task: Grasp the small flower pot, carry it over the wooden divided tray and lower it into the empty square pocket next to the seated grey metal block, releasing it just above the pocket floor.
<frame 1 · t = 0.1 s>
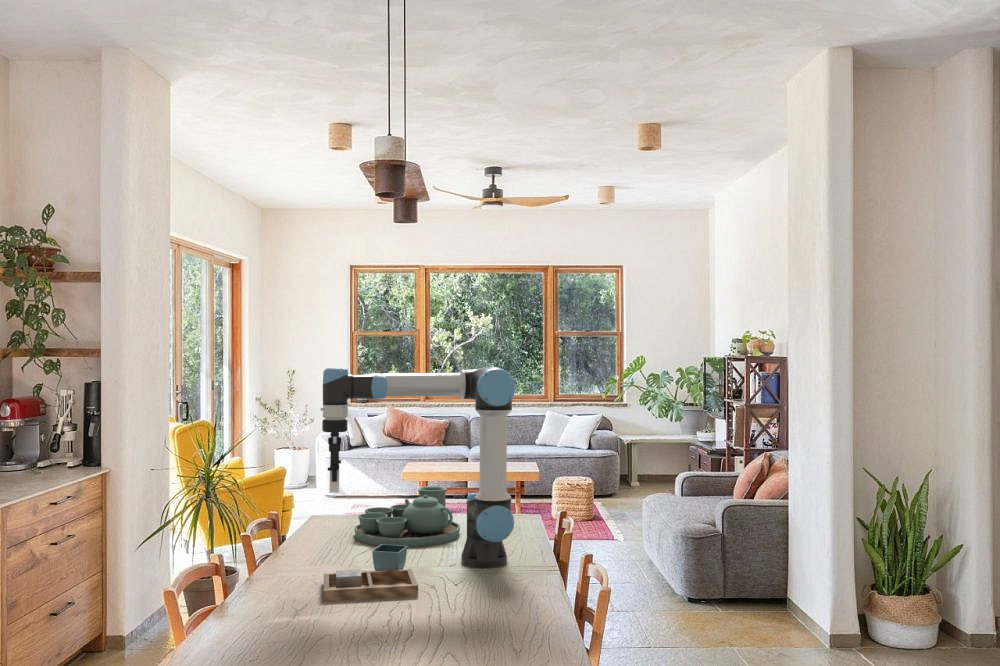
hand: (334, 488, 251), 28 cm above the table, fingers open, 13 cm apart
tea set: (407, 536, 314), on the table
wooden divided tray: (369, 593, 238), on the table
flower pot: (389, 577, 256), on the table
grey metal block: (348, 590, 237), point 1 cm above the table, touching wooden divided tray
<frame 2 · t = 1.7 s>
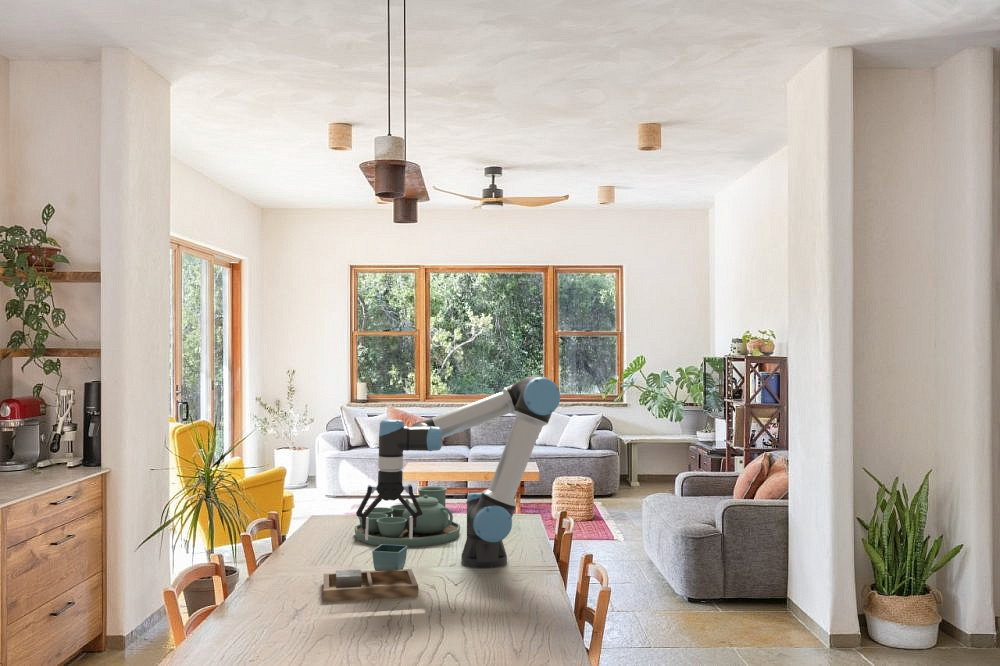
hand: (388, 538, 256), 12 cm above the table, fingers open, 13 cm apart
nothing on the table moved.
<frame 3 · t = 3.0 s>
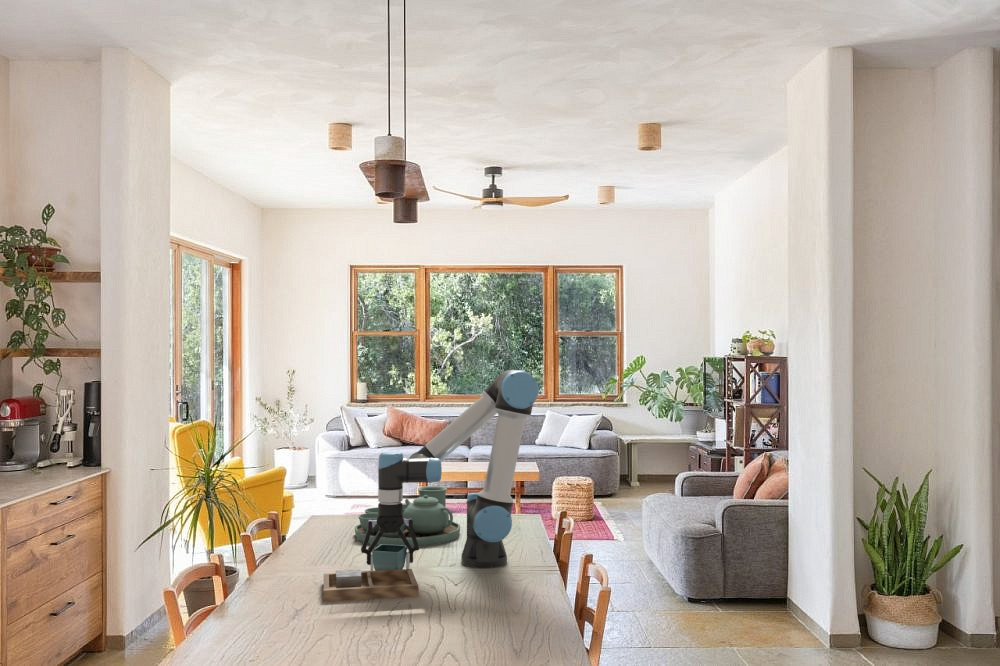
hand: (389, 574, 256), 1 cm above the table, fingers closed on flower pot, 10 cm apart
flower pot: (389, 577, 256), on the table, touching gripper
everything else where it was.
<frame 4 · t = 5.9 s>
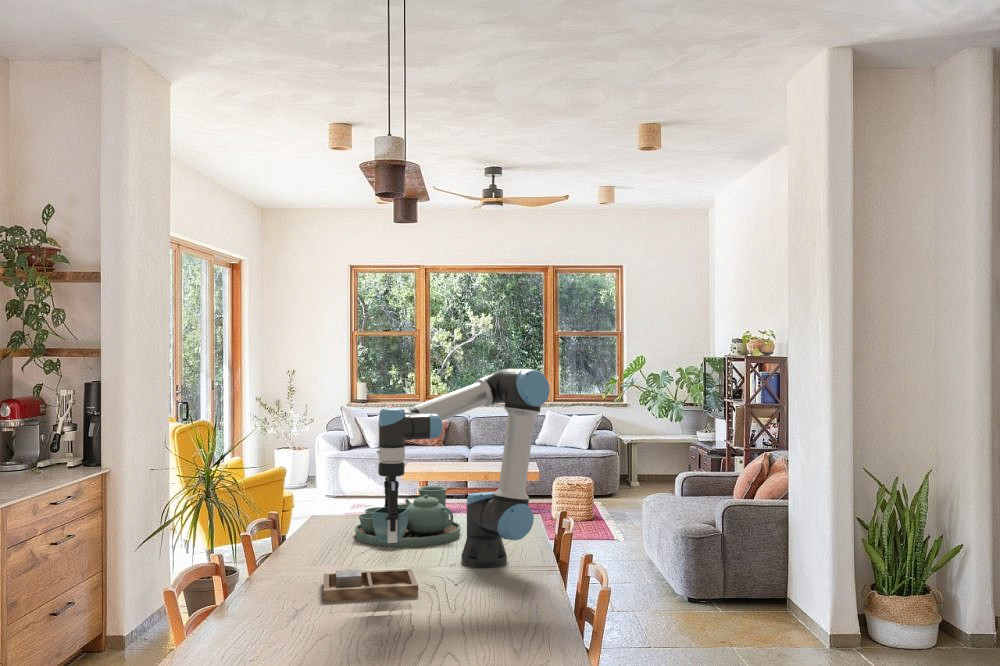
hand: (390, 538, 240), 15 cm above the table, fingers closed on flower pot, 10 cm apart
flower pot: (390, 541, 240), point 14 cm above the table, touching gripper
everything else where it was.
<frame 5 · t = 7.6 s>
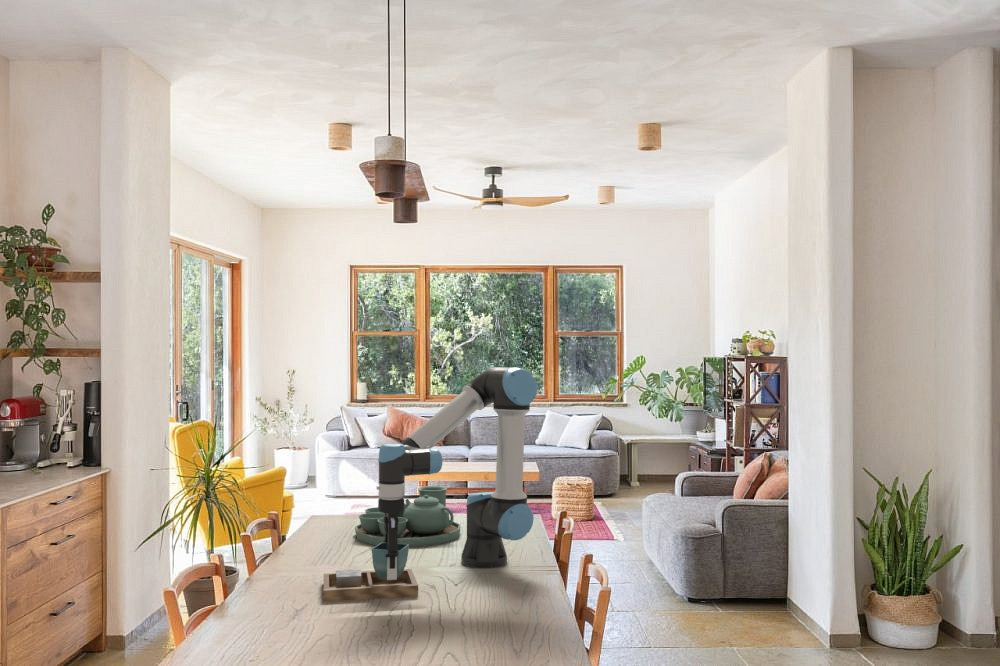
hand: (390, 574, 240), 5 cm above the table, fingers closed on flower pot, 10 cm apart
flower pot: (390, 578, 240), point 4 cm above the table, touching gripper
everything else where it was.
when the fingers open (3 cm above the table, at t = 8.6 s): flower pot drops 1 cm, resting on wooden divided tray.
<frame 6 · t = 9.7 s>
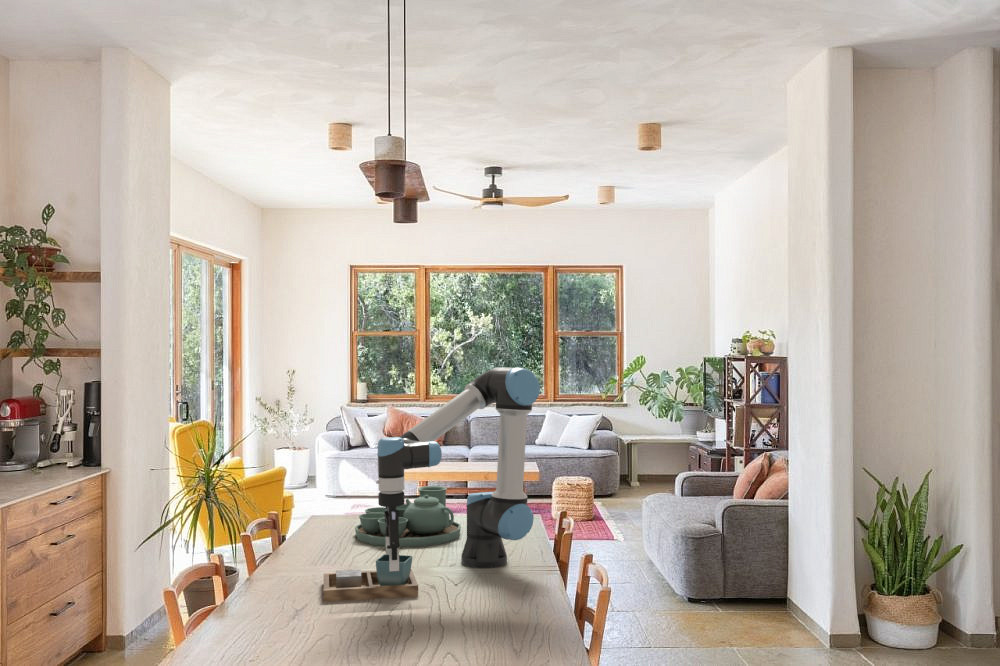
hand: (392, 564, 240), 8 cm above the table, fingers open, 13 cm apart
flower pot: (393, 590, 239), point 1 cm above the table, touching wooden divided tray
everything else where it was.
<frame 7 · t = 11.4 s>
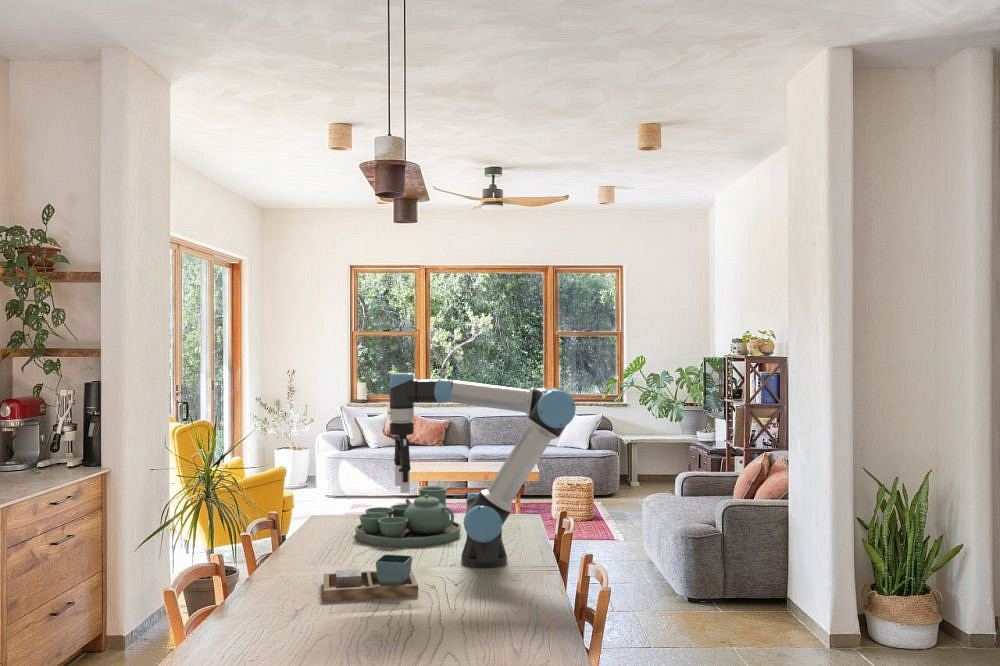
hand: (402, 489, 261), 26 cm above the table, fingers open, 13 cm apart
nothing on the table moved.
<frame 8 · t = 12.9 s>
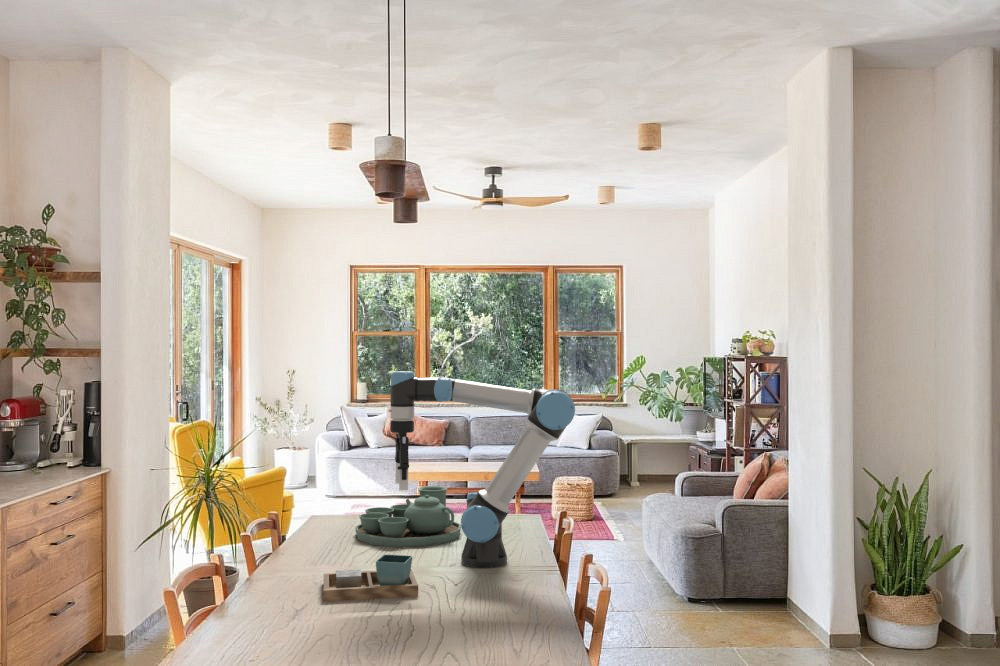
hand: (401, 486, 263), 27 cm above the table, fingers open, 13 cm apart
nothing on the table moved.
at the end: flower pot inside the target area on the wooden divided tray (1.7 cm from its centre), point 0.8 cm above the wooden divided tray's base; flower pot tilted 0°; the gripper is holding nothing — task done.
